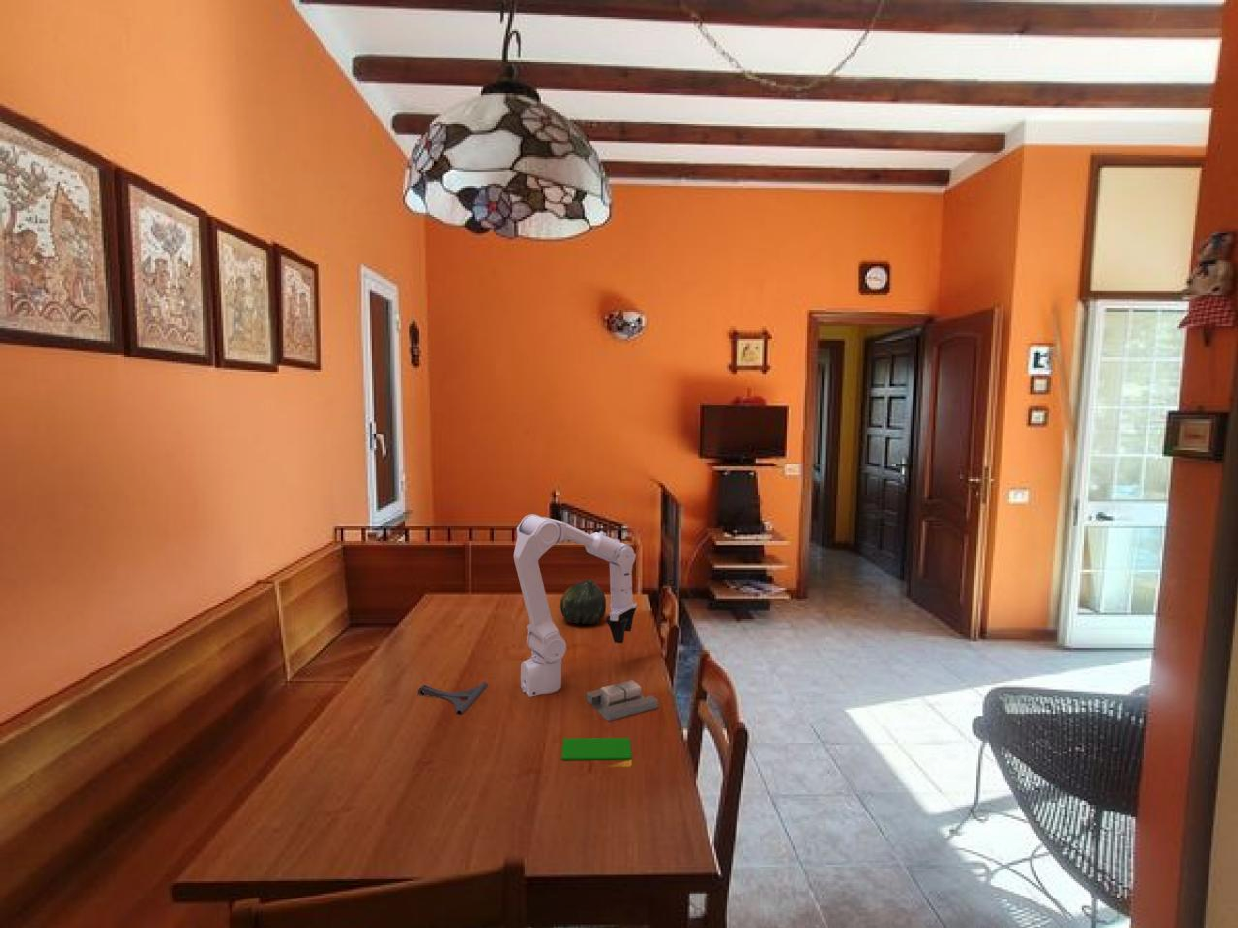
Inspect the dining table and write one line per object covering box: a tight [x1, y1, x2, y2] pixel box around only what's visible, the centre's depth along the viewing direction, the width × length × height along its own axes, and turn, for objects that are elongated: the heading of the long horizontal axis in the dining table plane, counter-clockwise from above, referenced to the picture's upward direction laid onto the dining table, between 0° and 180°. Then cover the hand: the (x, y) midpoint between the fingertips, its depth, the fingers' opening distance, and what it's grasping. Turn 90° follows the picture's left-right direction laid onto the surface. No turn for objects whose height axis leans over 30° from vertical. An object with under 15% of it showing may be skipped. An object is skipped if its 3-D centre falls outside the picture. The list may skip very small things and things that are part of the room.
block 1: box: [600, 683, 624, 707], centre depth 138 cm, size 4×4×4 cm
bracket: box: [417, 681, 488, 715], centre depth 145 cm, size 14×15×3 cm
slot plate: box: [586, 680, 659, 722], centre depth 140 cm, size 13×11×3 cm
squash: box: [559, 579, 607, 626], centre depth 196 cm, size 14×15×15 cm
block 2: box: [617, 679, 642, 702], centre depth 140 cm, size 4×4×4 cm
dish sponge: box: [560, 737, 633, 768], centre depth 121 cm, size 7×14×2 cm, turn 92°
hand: (622, 636), depth 160 cm, fingers open, 7 cm apart
